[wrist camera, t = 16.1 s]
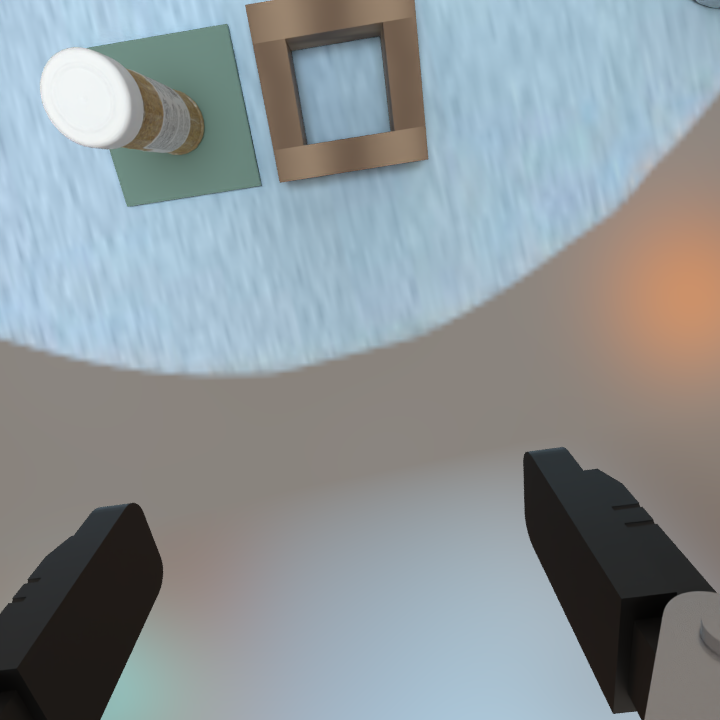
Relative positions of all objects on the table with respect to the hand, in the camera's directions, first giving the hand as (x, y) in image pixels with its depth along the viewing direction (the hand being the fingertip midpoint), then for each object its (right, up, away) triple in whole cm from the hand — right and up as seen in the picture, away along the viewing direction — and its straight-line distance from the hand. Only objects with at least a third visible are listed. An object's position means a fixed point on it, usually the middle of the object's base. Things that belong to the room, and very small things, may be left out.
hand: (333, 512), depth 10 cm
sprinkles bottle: (-13, +21, +27) cm, 37 cm away
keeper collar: (-1, +23, +26) cm, 35 cm away
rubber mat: (-14, +22, +27) cm, 37 cm away
